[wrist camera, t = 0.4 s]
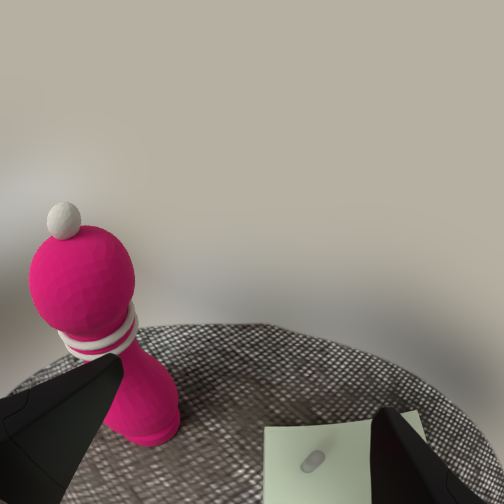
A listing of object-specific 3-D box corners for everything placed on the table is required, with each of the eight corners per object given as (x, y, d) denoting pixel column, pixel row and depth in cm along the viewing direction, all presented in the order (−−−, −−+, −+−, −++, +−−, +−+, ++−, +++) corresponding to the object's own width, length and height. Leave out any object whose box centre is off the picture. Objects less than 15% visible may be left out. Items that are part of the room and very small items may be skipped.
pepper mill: (156, 375, 24) (105, 172, 14) (202, 423, 20) (162, 197, 10) (99, 408, 19) (-2, 210, 9) (140, 465, 15) (-12, 265, 5)
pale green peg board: (437, 544, 6) (467, 537, 4) (260, 588, 6) (265, 600, 4) (411, 415, 20) (432, 393, 18) (263, 431, 20) (268, 412, 18)
